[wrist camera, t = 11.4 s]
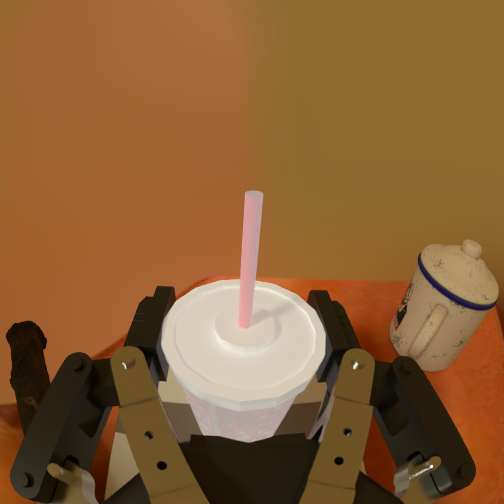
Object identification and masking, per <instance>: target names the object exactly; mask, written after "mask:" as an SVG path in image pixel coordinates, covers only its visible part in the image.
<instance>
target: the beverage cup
mask: <svg viewBox="0 0 504 504" xmlns="http://www.w3.org/2000/svg"><path fill="white" fill-rule="evenodd" d="M262 201H263V193H261V192H258V191H247V192H246V193H245V207H244V224H243V241H242V258H241V260H242V261H241V277H240V279H238V280H220V281H217V282H213V283H210V284H207V285H203V286H200V287H197V288H195V289H193V290H192V291H190V292H189V293H187V294H186V295H184V296H183V297H181V298H180V299H178V300H177V301H176V302H175V303H174V305H173V306H172V308H171V309H170V311H169V312H168V314H167V315H166V317H165V319H164V322H163V326H162V339H161V346H162V350H163V352H164V354H165V356H166V357H165V358H166V360H167V362H168V364H169V366H170V368H171V370H172V372H173V374H174V376H175V378H176V380H177V382H178V383H179V384H180V385H182V386H183V389H184V391H185V394H186V396H187V399H188V401H189V404H190V406H191V409H192V411H193V413H194V416H195V418H196V420H197V422H198V425H199V427H200V429H201V431H202V433H203V435H211V436H222V437H226V438H230V439H234V440H238V441H243V442H254V441H258V440H262V439H265V438H269V437H272V436H273V434H274V433H275V431H276V430H277V428H278V426H279V425H280V423H281V421H282V420H283V418H284V416H285V415H286V413H287V411H288V410H289V408H290V406H291V405H292V403H293V401H294V399H295V398H296V396H297V394H299V393H300V392H302V391H304V390H305V388H306V387H307V385H308V384H309V382H310V381H311V379H312V378H313V376H314V374H315V373H316V371H317V370H318V368H319V365H320V364H321V362H322V361H323V359H324V356H325V340H326V334H325V331H324V328H323V325H322V323H321V321H320V319H319V317H318V315H317V313H316V311H315V310H314V309H313V308H312V307H311V306H310V305H308V304H307V303H306V302H305V301H304V300H303V299H302V298H300V297H299V296H298V295H297V294H295V293H293V292H290V291H288V290H286V289H284V288H281V287H279V286H277V285H275V284H272V283H266V282H261V281H255V280H256V268H257V258H258V247H259V236H260V235H259V234H260V225H261V214H262Z"/></svg>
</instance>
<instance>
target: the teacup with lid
mask: <svg viewBox="0 0 504 504" xmlns="http://www.w3.org/2000/svg"><path fill="white" fill-rule="evenodd" d="M481 252H482V249H481V247H480V245H478V244H477V243H476V242H474V241H472V240H469V239H468V240H465V241H464V242H463V245H462V246H458V245H451V246H449V245H444V244H432V245H429V246H427V247H425V248H424V249H423V250H422V252H421V253H420V254H419V257H418V265H417V268H416V270H415V273H414V275H413V277H412V280H411V282H410V284H409V286H408V289H407V291H406V293H405V295H404V297H403V299H402V301H401V304H400V306H399V308H398V310H397V312H396V314H395V316H394V318H393V320H392V322H391V324H390V331H389V333H390V339H391V342H392V344H393V347H394V348H395V350H396V351H397V353H398V354H399V355H400V356H408V357H410V358H412V359H414V360H415V361H416V362H417V363H418V365H419V366H420V368H421V369H422V370H423V371H429V372H436V371H441V370H444V369H446V368H447V367H449V366H450V365H451V364H452V363H453V361H454V360H455V359H456V357H457V356H458V355H459V354H460V352H461V351H462V350H463V348H464V347H465V346H466V344H467V343H468V341H469V340H470V339H471V337H472V336H473V334H474V333H475V331H476V330H477V329H478V327H479V326H480V324H481V322H482V321H483V319H484V318H485V316H486V315H487V313H488V311H489V310H490V309H491V308H492V307H494V306H495V304H496V302H497V298H498V293H499V289H498V285H497V282H496V279H495V278H494V276H493V275H492V273H491V272H490V271H489V270H488V269H487V267H486V265H485V263H484V261H483V260H482V259H481V258H480V255H481Z"/></svg>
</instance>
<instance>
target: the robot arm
mask: <svg viewBox="0 0 504 504" xmlns="http://www.w3.org/2000/svg"><path fill="white" fill-rule="evenodd" d="M175 302H176V297H175V290H174V287H169V286H157V288H156V290H155V293H154V296H153V297H147V296H146V297H145V298H144V299H143V300H142V301H141V302H140V303H139V305H138V308H137V310H136V314H135V316H134V318H133V321H132V324H131V327H130V329H129V332H128V335H127V338H126V341H125V344H124V346H123V347H122V348H120V349H118V350H116V351H115V352H114V354H113V355H112V357H111V358H107V359H100V360H91V358H90V357H89V356H88V355H87V354H85V353H81V352H77V353H73V354H71V355H69V356H68V357H67V358H66V359H65V360H64V362H63V364H62V365H61V367H60V369H59V370H58V372H57V374H56V376H55V377H54V379H53V381H52V383H51V385H50V386H49V388H48V390H47V392H46V394H45V396H44V398H43V400H42V401H41V403H40V405H39V407H38V409H37V411H36V413H35V415H34V417H33V420H32V422H31V424H30V426H29V428H28V430H27V433H26V435H25V437H24V439H23V442H22V444H21V446H20V449H19V451H18V454H17V456H16V459H15V461H14V464H13V467H12V469H11V473H10V479H11V483H12V485H13V487H14V489H15V490H16V492H17V493H18V494H19V495H21V496H22V497H24V498H27V499H29V500H32V501H34V502H36V503H38V504H99V503H98V502H97V500H96V498H95V482H94V479H93V477H92V476H91V474H90V473H89V472H88V471H89V468H90V465H91V462H92V459H93V457H94V454H95V451H96V448H97V445H98V443H99V440H100V437H101V435H102V432H103V429H104V427H105V424H106V422H107V419H108V417H109V414H110V412H111V409H112V407H113V406H120V407H119V414H120V417H121V421H122V424H123V427H124V431H125V434H126V437H127V440H128V443H129V446H130V449H131V452H132V454H133V457H134V460H135V462H136V465H137V468H138V470H139V473H138V474H136V475H135V476H134V477H133V478H132V479H131V480H129V481H128V482H127V483H126V484H125V485H123V486H122V487H121V488H120V489H119V490H117V491H116V492H115V493H114V494H112V495H111V496H110V497H109V498H107V499H106V500H105V501H104V502H102V503H101V504H433V503H435V502H436V501H437V500H439V499H440V498H442V497H444V496H447V495H449V494H452V493H454V492H456V491H459V490H461V489H463V488H465V487H467V486H468V485H470V484H471V482H472V481H473V479H474V477H475V474H476V467H475V463H474V461H473V459H472V457H471V455H470V453H469V451H468V449H467V447H466V445H465V443H464V441H463V439H462V437H461V436H460V434H459V432H458V430H457V428H456V426H455V425H454V423H453V421H452V419H451V417H450V416H449V414H448V412H447V410H446V409H445V407H444V405H443V404H442V402H441V400H440V398H439V397H438V395H437V393H436V392H435V390H434V389H433V387H432V385H431V384H430V382H429V380H428V379H427V377H426V376H425V374H424V372H423V371H422V369H421V368H420V366H419V365H418V363H417V362H416V361H415V360H414V359H412V358H410V357H408V356H399V357H397V358H396V359H395V360H394V361H393V363H388V362H381V361H376V360H374V359H373V357H372V356H371V354H369V353H368V352H367V351H365V350H362V349H361V347H360V344H359V342H358V339H357V337H356V335H355V332H354V330H353V327H352V325H351V323H350V320H349V318H348V316H347V313H346V311H345V309H344V307H343V306H342V305H341V304H340V303H339V302H338V301H331V299H330V296H329V294H328V292H327V290H311V291H310V292H309V296H308V300H307V304H308V305H310V306H311V307H312V308H313V309H314V310H315V311H316V313H317V315H318V317H319V319H320V321H321V323H322V325H323V328H324V331H325V334H326V340H325V356H324V359H323V361H322V362H321V364H320V365H319V368H318V370H317V371H316V378H317V382H318V383H322V382H326V385H327V389H326V391H325V393H324V396H323V400H322V403H321V406H320V409H319V412H318V415H317V418H316V420H315V423H314V426H313V428H312V430H311V432H310V434H309V436H308V439H306V436H305V433H295V434H283V435H276V436H272V437H269V438H265V439H262V440H258V441H254V442H243V441H238V440H234V439H230V438H226V437H222V436H211V435H195V434H191V437H190V440H189V441H184V442H179V440H178V437H177V435H176V433H175V431H174V429H173V427H172V425H171V422H170V420H169V418H168V415H167V413H166V410H165V408H164V405H163V403H162V400H161V398H160V395H159V393H158V385H159V381H164V382H167V376H168V370H169V364H168V362H167V360H166V358H165V357H166V356H165V354H164V352H163V350H162V346H161V339H162V326H163V322H164V319H165V317H166V315H167V314H168V312H169V311H170V309H171V308H172V306H173V305H174V303H175ZM372 413H373V415H374V418H375V420H376V422H377V424H378V426H379V428H380V430H381V433H382V435H383V437H384V439H385V441H386V444H387V446H388V448H389V450H390V452H391V455H392V457H393V459H394V461H395V464H396V466H397V468H398V469H397V471H396V472H395V475H394V480H393V485H394V486H395V493H394V494H392V493H391V492H389V491H388V490H386V489H385V488H383V487H382V486H381V485H379V484H378V483H376V482H375V481H374V480H372V479H371V478H370V477H368V476H367V475H365V474H364V473H363V472H361V471H360V466H361V463H362V459H363V455H364V451H365V447H366V442H367V438H368V433H369V429H370V424H371V418H372Z"/></svg>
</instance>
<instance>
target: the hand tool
mask: <svg viewBox="0 0 504 504" xmlns="http://www.w3.org/2000/svg"><path fill="white" fill-rule="evenodd" d="M6 339H7V341H8V343H9V344H10V347H11V360H12V370H11V379H10V384H11V386H12V388H13V389H14V391H15V395H16V400H17V405H18V412H19V416H20V421H21V426H22V429H23V433H24V436H25V435H26V433H27V430H28V428H29V426H30V424H31V422H32V420H33V417H34V415H35V413H36V411H37V409H38V407H39V405H40V403H41V401H42V400H43V398H44V396H45V394H46V392H47V390H48V388H49V386H50V380H49V375H48V372H47V367H46V364H45V359H44V354H43V349H45V348H46V343H47V339H46V338H45V336H44V334H43V332H42V330H41V329H40V327H39V326H37V325H36V324H35V323H33V322H32V321H25V322H20V323H14V324H13V325H12V327H11V328H10V329H9V330H8V332H7V334H6Z"/></svg>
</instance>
